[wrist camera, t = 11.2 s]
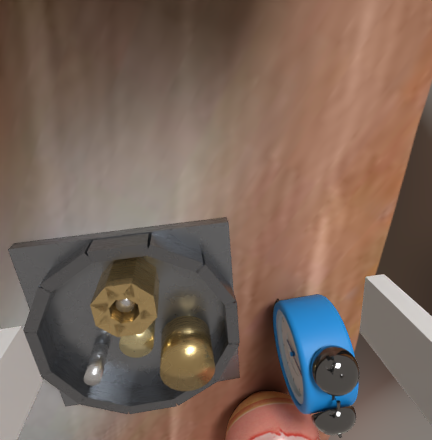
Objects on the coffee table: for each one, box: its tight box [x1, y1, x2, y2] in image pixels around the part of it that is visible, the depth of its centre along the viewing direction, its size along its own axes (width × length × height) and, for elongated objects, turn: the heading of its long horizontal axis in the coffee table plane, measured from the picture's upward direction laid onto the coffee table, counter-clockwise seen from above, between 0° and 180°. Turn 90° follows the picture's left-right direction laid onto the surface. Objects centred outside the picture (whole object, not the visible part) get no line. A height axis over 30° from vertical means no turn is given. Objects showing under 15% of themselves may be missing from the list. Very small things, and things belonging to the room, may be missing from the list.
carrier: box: [8, 217, 240, 414], centre depth 41 cm, size 25×25×8 cm
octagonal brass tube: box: [90, 257, 159, 337], centre depth 37 cm, size 6×6×6 cm
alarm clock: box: [273, 294, 359, 438], centre depth 40 cm, size 13×6×15 cm, turn 6°
